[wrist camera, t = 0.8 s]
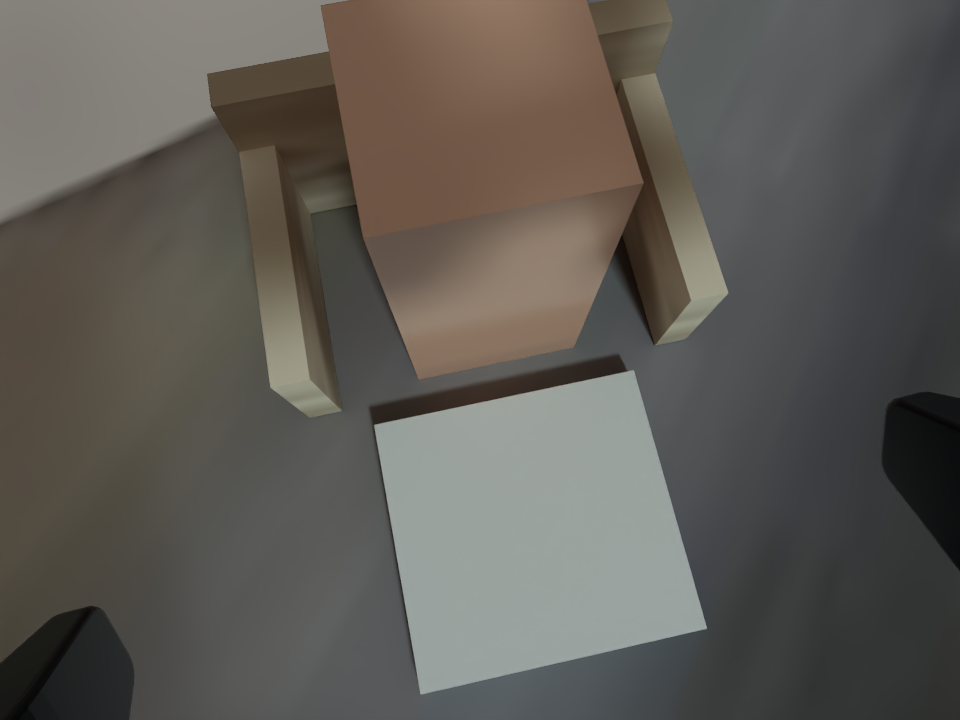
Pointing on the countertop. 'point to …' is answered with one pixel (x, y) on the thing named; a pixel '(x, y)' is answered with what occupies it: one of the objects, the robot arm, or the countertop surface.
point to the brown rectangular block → (482, 169)
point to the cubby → (328, 185)
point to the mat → (533, 531)
